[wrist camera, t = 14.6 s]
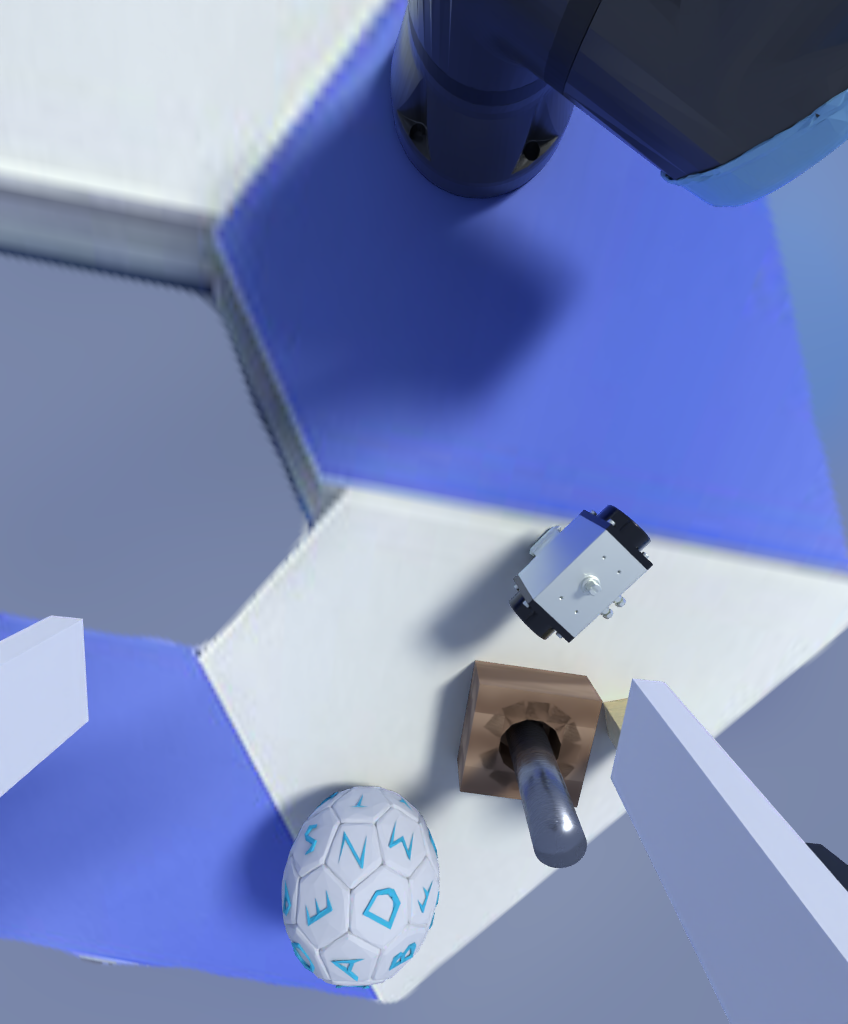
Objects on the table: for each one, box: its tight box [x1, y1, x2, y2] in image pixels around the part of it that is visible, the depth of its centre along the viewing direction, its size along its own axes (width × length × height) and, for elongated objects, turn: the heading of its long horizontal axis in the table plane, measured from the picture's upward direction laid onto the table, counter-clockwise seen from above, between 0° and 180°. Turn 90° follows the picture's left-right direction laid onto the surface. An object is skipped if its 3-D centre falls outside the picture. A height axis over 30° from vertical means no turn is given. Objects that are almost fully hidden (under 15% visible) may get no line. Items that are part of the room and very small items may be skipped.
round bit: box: [505, 719, 587, 868], centre depth 41 cm, size 4×4×14 cm
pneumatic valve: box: [509, 505, 653, 642], centre depth 39 cm, size 6×12×12 cm, turn 137°
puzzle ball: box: [282, 786, 440, 989], centre depth 44 cm, size 15×15×15 cm
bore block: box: [457, 660, 603, 807], centre depth 46 cm, size 12×12×4 cm
